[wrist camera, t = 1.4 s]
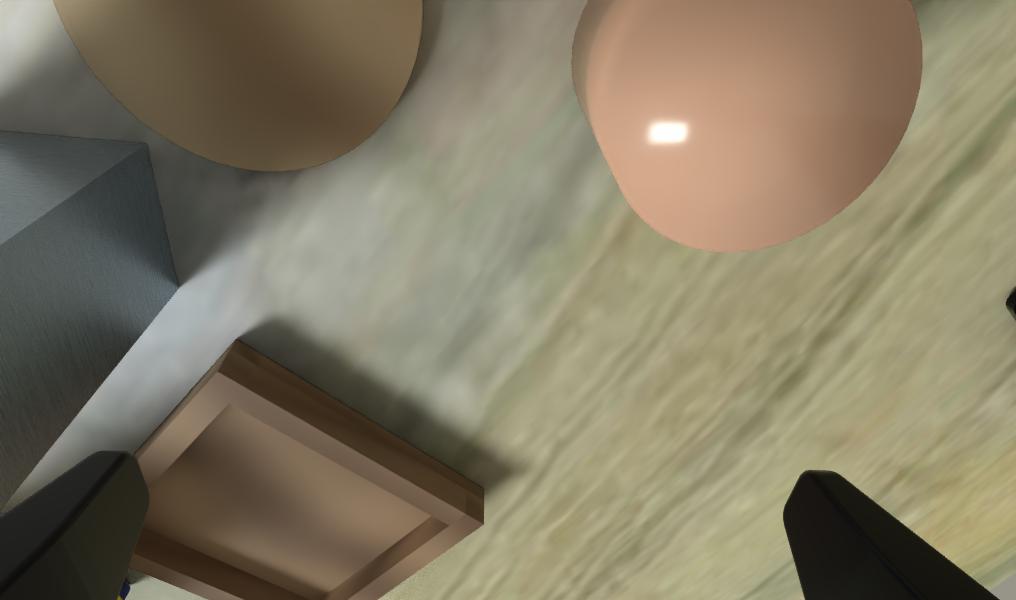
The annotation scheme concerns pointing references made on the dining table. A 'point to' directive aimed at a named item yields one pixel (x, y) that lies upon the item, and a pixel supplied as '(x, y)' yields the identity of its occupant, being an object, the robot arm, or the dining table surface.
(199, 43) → the cork coaster
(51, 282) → the tea tin
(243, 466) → the walnut tray
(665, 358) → the dining table surface
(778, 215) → the pink rounded cylinder
